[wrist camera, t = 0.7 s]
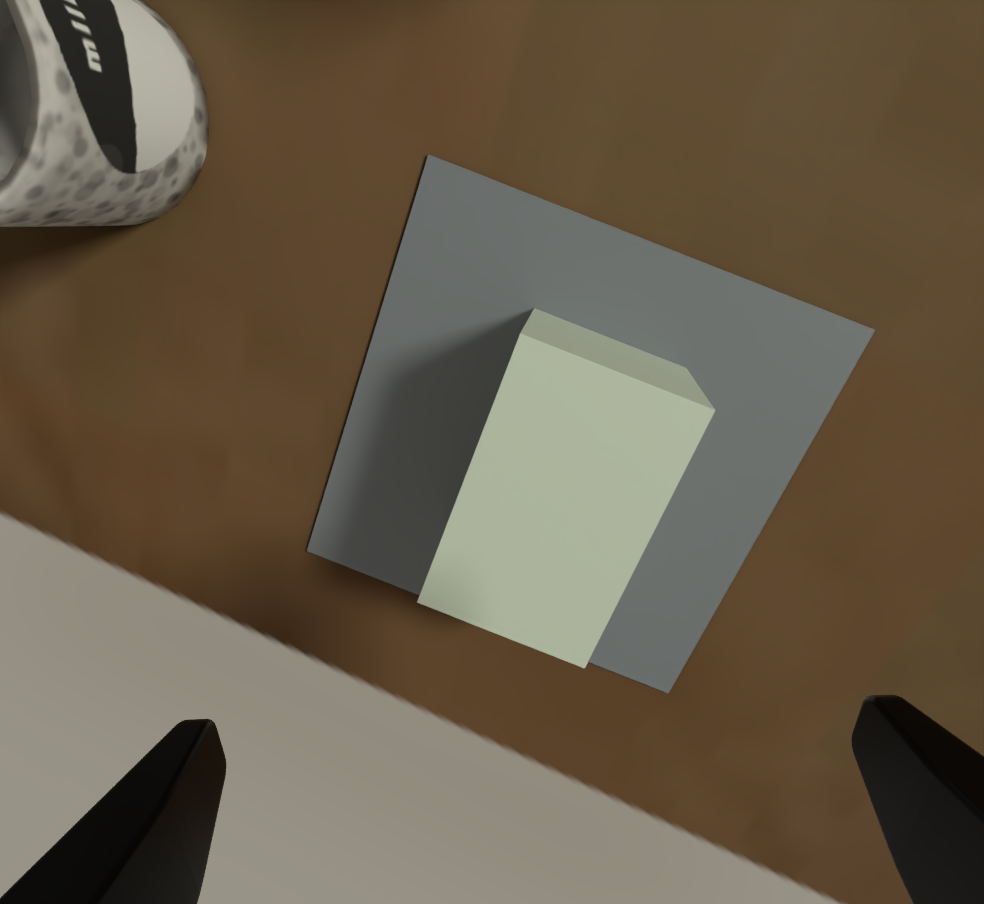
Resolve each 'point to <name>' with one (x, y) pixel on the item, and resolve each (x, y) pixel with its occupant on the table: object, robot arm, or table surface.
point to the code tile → (610, 312)
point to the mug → (95, 114)
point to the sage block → (565, 487)
